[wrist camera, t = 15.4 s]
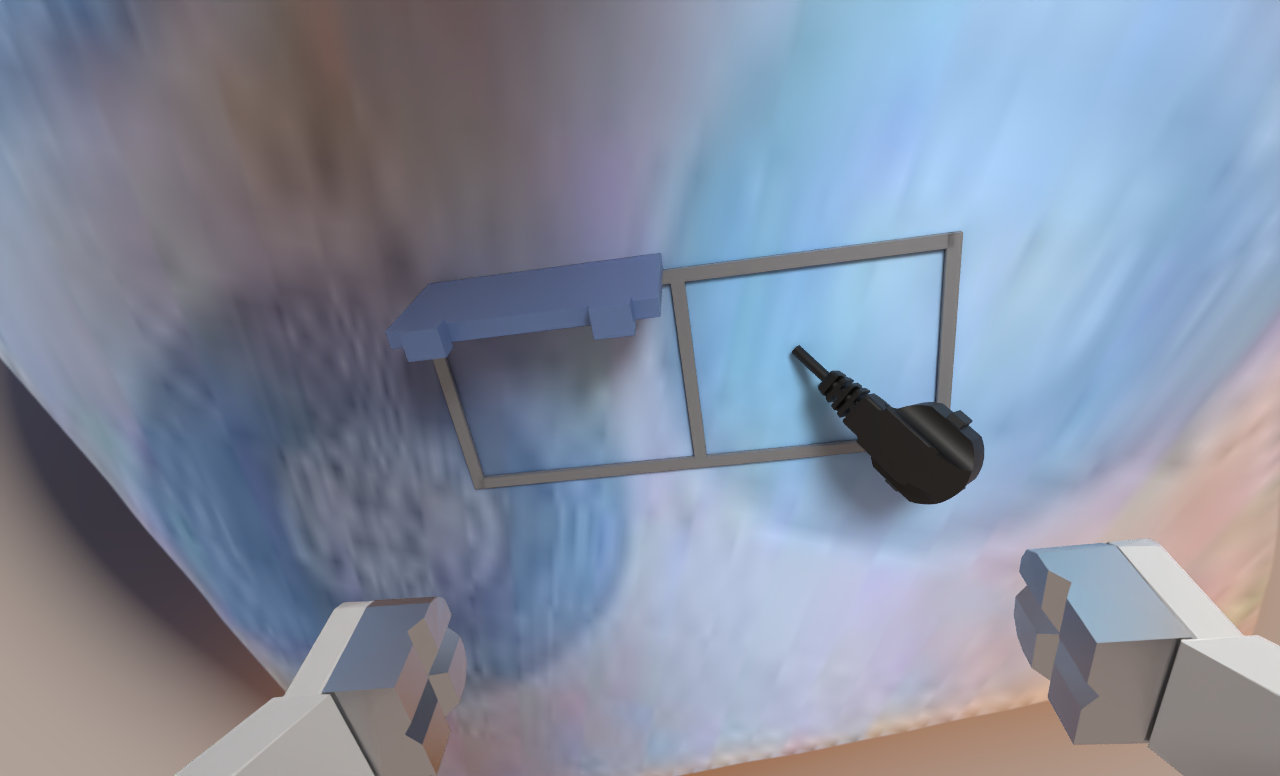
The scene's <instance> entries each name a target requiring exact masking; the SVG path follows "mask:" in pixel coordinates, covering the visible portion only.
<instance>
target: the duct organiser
mask: <svg viewBox="0 0 1280 776" xmlns="http://www.w3.org/2000/svg"><path fill="white" fill-rule="evenodd" d="M962 240H963V232H962V231H957V232H949V233H941V234H934V235H926V236H918V237H910V238H903V239H895V240H887V241H880V242H872V243H864V244H857V245H849V246H841V247H833V248H826V249H818V250H810V251H803V252H795V253H787V254H779V255H772V256H764V257H756V258H749V259H741V260H733V261H726V262H718V263H710V264H702V265H695V266H687V267H679V268H672V269H664V270H663V265H662V258H661V253H657V254H650V255H642V256H635V257H627V258H620V259H612V260H605V261H597V262H590V263H582V264H575V265H567V266H559V267H552V268H544V269H537V270H529V271H522V272H514V273H507V274H499V275H492V276H484V277H477V278H469V279H461V280H454V281H446V282H439V283H431V284H428V285H427V287H426V288H425V289H424V290H423V291H422V292H421V293H420V294H419V295H418V296H417V297H416V299H415V300H414V301H413V302H412V303H411V304H410V305H409V306H408V307H407V308H406V310H405V311H404V312H403V313H402V314H401V315H400V316H399V317H398V318H397V319H396V320H395V322H394V323H393V324H392V325H391V326H390V327H389V328H388V329H387V330H386V331H385V333H386V335H387V338H388V341H389V344H390V347H391V349H399V348H403V349H404V351H405V354H406V357H407V360H408V362H414V361H423V360H431V359H433V362H434V365H435V368H436V371H437V374H438V377H439V380H440V384H441V387H442V390H443V393H444V396H445V399H446V402H447V405H448V408H449V411H450V414H451V417H452V420H453V423H454V426H455V429H456V432H457V435H458V438H459V441H460V444H461V447H462V450H463V453H464V456H465V459H466V462H467V465H468V468H469V472H470V475H471V478H472V481H473V484H474V487H475V489H482V488H493V487H503V486H513V485H524V484H534V483H545V482H555V481H566V480H576V479H587V478H597V477H608V476H618V475H629V474H639V473H649V472H660V471H670V470H681V469H691V468H702V467H712V466H723V465H733V464H744V463H754V462H764V461H775V460H785V459H796V458H806V457H817V456H827V455H838V454H848V453H859V452H866V451H865V450H864V449H863V448H862V447H861V446H860V445H859V444H858V443H857V442H856V440H851V441H840V442H830V443H820V444H810V445H799V446H789V447H779V448H769V449H758V450H748V451H738V452H728V453H717V454H706V446H705V438H704V430H703V422H702V414H701V406H700V399H699V391H698V383H697V375H696V367H695V359H694V351H693V344H692V336H691V328H690V320H689V312H688V304H687V296H686V289H685V282H687V281H695V280H703V279H711V278H719V277H726V276H734V275H742V274H750V273H758V272H766V271H774V270H781V269H789V268H797V267H805V266H813V265H821V264H829V263H836V262H844V261H852V260H860V259H868V258H876V257H884V256H891V255H899V254H907V253H915V252H923V251H931V250H939V249H945V259H944V275H943V292H942V308H941V324H940V341H939V357H938V373H937V390H936V403H943V404H944V405H945V406H947V407H948V408H949V409H950V404H951V391H952V377H953V363H954V350H955V336H956V322H957V309H958V295H959V281H960V268H961V254H962ZM664 284H671V289H672V296H673V303H674V310H675V318H676V325H677V332H678V340H679V347H680V354H681V361H682V369H683V376H684V383H685V390H686V398H687V405H688V412H689V420H690V427H691V434H692V441H693V449H694V456H687V457H677V458H666V459H656V460H646V461H636V462H625V463H615V464H605V465H595V466H584V467H574V468H564V469H554V470H544V471H533V472H523V473H513V474H503V475H492V476H484V473H483V470H482V467H481V464H480V461H479V458H478V455H477V451H476V448H475V445H474V442H473V439H472V436H471V433H470V429H469V426H468V423H467V420H466V417H465V414H464V411H463V407H462V404H461V401H460V398H459V395H458V392H457V389H456V385H455V382H454V379H453V376H452V373H451V370H450V367H449V363H448V360H447V356H448V355H449V353H450V352H451V350H452V349H453V345H452V342H456V341H464V340H472V339H481V338H489V337H497V336H505V335H513V334H522V333H530V332H538V331H546V330H554V329H563V328H571V327H579V326H587V325H591V327H592V332H593V337H594V340H599V339H607V338H616V337H624V336H632V335H635V331H636V321H635V320H636V319H645V318H653V317H660V314H661V297H662V285H664Z"/></svg>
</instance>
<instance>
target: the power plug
mask: <svg viewBox="0 0 1280 776" xmlns="http://www.w3.org/2000/svg"><path fill="white" fill-rule="evenodd" d="M792 354H793V355H794V356H795V357H796V358H797V359H798V360H800V361H801V362H802V363H803V364H804V365H805V366H806V367H807V368H808V369H809V370H810V371H811V372H812V373H813V374H815V375H816V376H817V377H818V378H819V379H820V380H821V381H822V382H821V383H820V384H819V386H818V389H819V391H820V392H821V393H822V395H825V396H826V400H827V401H828V403H829V402H834V403H833V404H832V405H831V407H832V408H833V409H834V410H837V411H838V412H837V415H838V416H839V417H845V416H846V417H845V418H844V419H843V423H844V424H845V425H846V426H847V427H848V428H849V429H850V430H851V431H852V432H853V433H855V434H856V435H857V437H858V439H857V440H856V442H857V443H858V444H859V445H860V446H861V447H862V448H863V449H864V450H865V451H866V452H867V453H868V454H869V455H870V456H871V459H872V464H873V467H874V468H875V469H876V470H877V471H878V472H879V473H880V474H881V475H882V476H883V477H884V478H885V479H886V480H885V481H886V482H887V483H888V484H889V485H890V486H891V487H892V488H893V489H894V490H895V491H899V492H900V493H901V494H902V495H903V496H904V497H905V498H906V499H907V500H908V501H910V502H913V503H918V504H938V503H941V502H944V501H946V500H948V499H950V498H952V497H953V496H955V495H956V494H958V493H959V492H961V491H962V490H963V489H965V488H966V487H965V486H966V485H967V484H969V483H970V482H972V481H973V480H974V479H975V478H976V477H977V476H978V474H979V472H980V470H981V468H982V465H983V460H984V445H983V440H982V437H981V436H980V435H979V434H978V433H977V432H976V431H974V430H973V429H972V428H971V427H970V426H969V424H970V423H971V422H972V420H971V419H970V418H969V417H968V416H967V415H965V414H964V413H963V412H962V411H961V410H959V411H956V412H952V411H951V410H950V409H949V408H948V407H947V406H945V405H944V404H943V403H936V402H926V403H920V404H915V405H911V406H906V407H903V408H899V409H896V408H893V407H891V406H890V405H889V404H888V403H886V402H885V401H884V400H883V399H881V398H880V397H879V396H877V395H876V394H868V393H869V392H870V391H869V390H868V389H866V388H862V385H860V384H859V383H853V381H854V380H852V379H851V378H848V377H846V375H845V374H843V373H842V372H840V371H831V372H830V373H829V372H828V371H827V370H826V369H825V368H824V367H823V366H821V365H820V364H819V363H818V362H817V361H816V360H815V359H814V358H813V357H812V356H811V355H809V354H808V353H807V352H806V351H805V350H804V349H803V348H802V347H801V346H800V345H799V346H797V347H796V348H795V349H794V350H793V351H792Z"/></svg>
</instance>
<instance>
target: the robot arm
mask: <svg viewBox="0 0 1280 776" xmlns="http://www.w3.org/2000/svg"><path fill="white" fill-rule="evenodd" d="M1019 572H1020V574H1021V576H1022V577H1023V579H1024V581H1025V582H1026V584H1027V586H1026V587H1025V588H1024V589H1023V590H1022V591H1021V592H1020V593H1019V594H1018V595H1017V596H1016V598H1015V609H1014V619H1015V625H1016V631H1017V636H1018V639H1019V642H1020V644H1021V647H1022V650H1023V652H1024V654H1025V656H1026V658H1027V660H1028V662H1029V664H1030V666H1031V668H1033V669H1034V670H1036V671H1037V672H1039V673H1040V674H1042V675H1043V676H1044V677H1046V678H1047V679H1049V680H1050V687H1049V692H1048V699H1049V701H1050V703H1051V704H1052V706H1053V708H1054V710H1055V712H1056V714H1057V715H1058V717H1059V719H1060V721H1061V723H1062V725H1063V726H1064V728H1065V730H1066V732H1067V734H1068V736H1069V737H1070V739H1071V741H1072V743H1073V744H1074V745H1083V744H1084V745H1085V744H1132V743H1149V744H1148V748H1150V749H1151V750H1152V751H1154V752H1155V753H1156V754H1157V755H1159V756H1160V757H1161V758H1162V759H1164V760H1165V761H1166V762H1167V763H1169V764H1170V765H1171V766H1172V767H1174V768H1175V769H1176V770H1177V771H1179V772H1180V773H1181V774H1182V775H1184V776H1280V646H1278V645H1276V644H1274V643H1272V642H1270V641H1268V640H1266V639H1264V638H1262V637H1260V636H1258V635H1254V636H1244V635H1243V634H1242V633H1241V632H1240V631H1239V630H1238V629H1237V627H1236V626H1235V625H1234V624H1233V623H1232V622H1231V621H1230V620H1229V619H1228V618H1227V617H1226V616H1225V614H1224V613H1223V612H1222V611H1221V610H1220V609H1219V608H1218V607H1217V606H1216V605H1215V604H1214V602H1213V601H1212V600H1211V599H1210V598H1209V597H1208V596H1207V595H1206V594H1205V593H1204V592H1203V591H1202V589H1201V588H1200V587H1199V586H1198V585H1197V584H1196V583H1195V582H1194V581H1193V580H1192V579H1191V578H1190V576H1189V575H1188V574H1187V573H1186V572H1185V571H1184V570H1183V569H1182V568H1181V567H1180V566H1179V564H1178V563H1177V562H1176V561H1175V560H1174V559H1173V558H1172V557H1171V556H1170V555H1169V554H1168V553H1167V551H1166V550H1165V549H1164V548H1163V547H1162V546H1161V545H1160V544H1159V543H1157V542H1155V541H1153V540H1151V539H1138V540H1127V541H1116V542H1108V543H1106V544H1105V543H1096V544H1085V545H1074V546H1062V547H1051V548H1040V549H1028V550H1026V551H1025V553H1024V555H1023V556H1022V558H1021V564H1020V570H1019ZM451 615H452V614H451V612H450V610H449V608H448V606H447V603H446V601H445V599H443V598H440V597H424V598H405V599H386V600H375V601H363V602H344V603H342V604H341V605H339V606H338V607H337V608H335V609H334V611H333V612H332V614H331V616H330V617H329V619H328V621H327V622H326V624H325V626H324V628H323V629H322V631H321V633H320V634H319V636H318V638H317V640H316V641H315V643H314V645H313V646H312V648H311V650H310V652H309V653H308V655H307V657H306V659H305V660H304V662H303V664H302V665H301V667H300V669H299V671H298V672H297V674H296V676H295V677H294V679H293V681H292V683H291V684H290V686H289V688H288V689H287V691H286V693H285V695H284V696H283V697H274V698H272V699H271V700H270V701H268V702H267V703H266V704H265V705H263V706H262V707H261V708H259V709H258V710H257V711H256V712H254V713H253V714H252V715H250V716H249V717H248V718H247V719H245V720H244V721H243V722H241V723H240V724H239V725H238V726H236V727H235V728H234V729H233V730H231V731H230V732H229V733H227V734H226V735H225V736H224V737H222V738H221V739H220V740H219V741H217V742H216V743H215V744H213V745H212V746H211V747H209V748H208V749H207V750H206V751H204V752H203V753H202V754H201V755H199V756H198V757H197V758H195V759H194V760H193V761H192V762H190V763H189V764H188V765H186V766H185V767H184V768H183V769H181V770H180V771H179V772H178V773H176V774H175V775H174V776H432V775H437V773H438V769H439V766H440V763H441V760H442V757H443V754H444V751H445V748H446V745H447V741H448V738H449V735H450V732H451V729H450V727H449V725H448V722H447V720H446V718H445V717H446V716H447V715H448V714H449V713H450V712H451V711H452V710H453V709H454V708H455V707H456V706H457V705H458V704H459V703H460V700H461V697H462V693H463V690H464V687H465V681H466V668H467V661H466V654H465V648H464V645H463V643H462V640H461V637H460V636H459V635H458V634H456V633H455V632H453V631H452V630H451V629H449V628H448V627H447V626H448V623H449V621H450V618H451Z"/></svg>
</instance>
